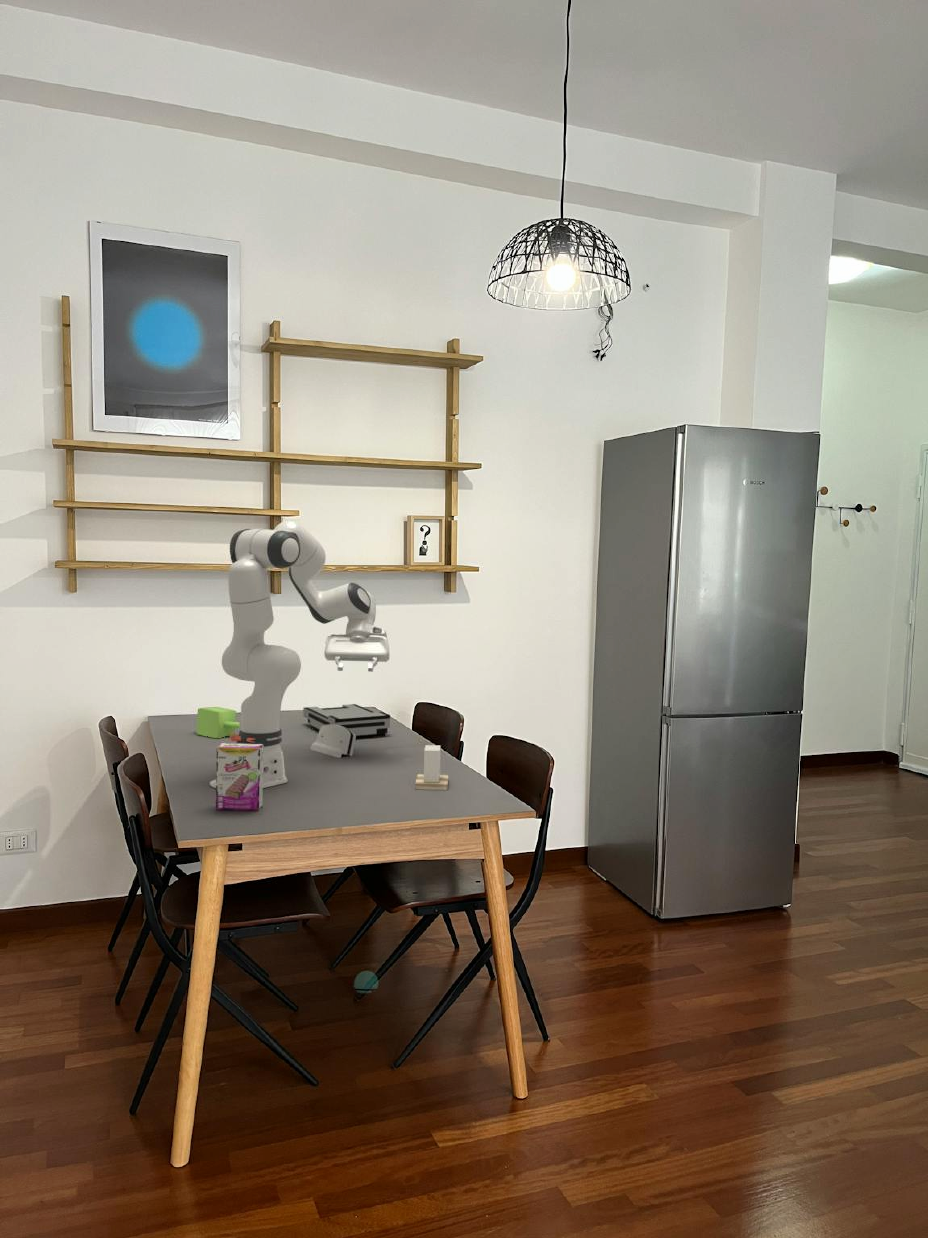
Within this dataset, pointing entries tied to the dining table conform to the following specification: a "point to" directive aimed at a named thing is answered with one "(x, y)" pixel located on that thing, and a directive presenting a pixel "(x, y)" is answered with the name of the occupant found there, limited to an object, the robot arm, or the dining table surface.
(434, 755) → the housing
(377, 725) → the office tray
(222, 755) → the candy bar box
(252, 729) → the robot arm
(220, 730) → the gearbox
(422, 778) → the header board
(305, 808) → the dining table surface
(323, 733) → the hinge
